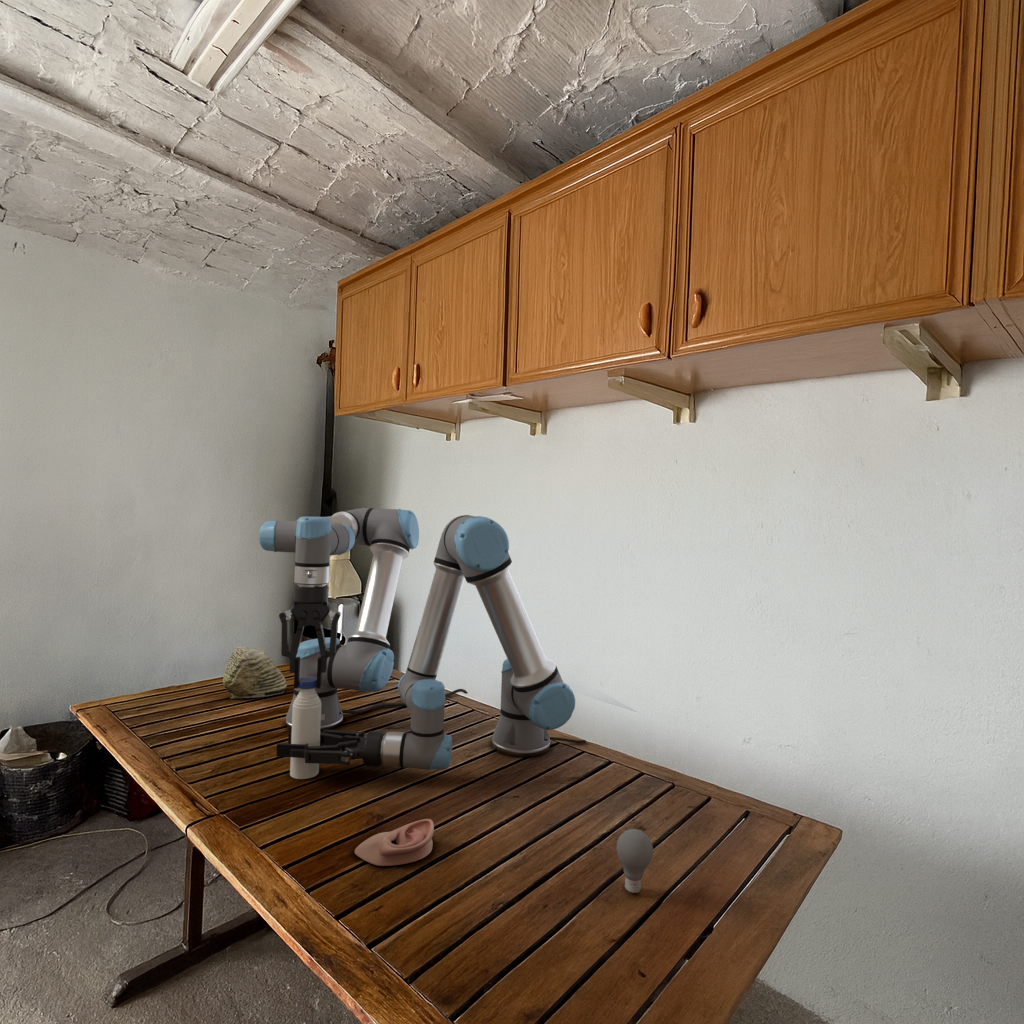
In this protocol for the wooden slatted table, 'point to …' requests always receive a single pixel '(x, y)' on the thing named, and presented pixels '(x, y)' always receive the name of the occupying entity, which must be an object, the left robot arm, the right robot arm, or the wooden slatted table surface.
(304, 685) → the cap
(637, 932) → the wooden slatted table surface
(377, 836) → the anatomical model
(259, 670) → the fossil
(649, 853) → the light bulb
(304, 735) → the bottle
